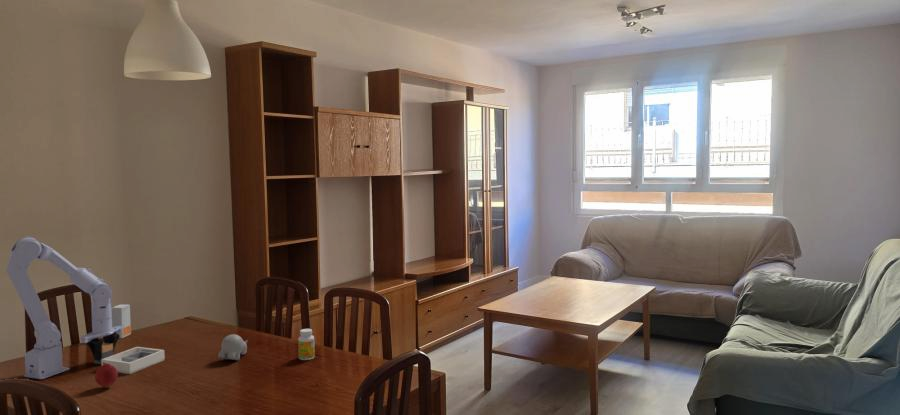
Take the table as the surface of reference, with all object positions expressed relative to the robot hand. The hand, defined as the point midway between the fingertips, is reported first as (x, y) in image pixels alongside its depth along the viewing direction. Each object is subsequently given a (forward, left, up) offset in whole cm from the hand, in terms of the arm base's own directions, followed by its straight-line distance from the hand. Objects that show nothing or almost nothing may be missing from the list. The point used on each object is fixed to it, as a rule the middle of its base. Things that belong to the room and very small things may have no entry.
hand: (103, 357), depth 196 cm
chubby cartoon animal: (+17, -40, -2) cm, 44 cm away
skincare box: (+25, +20, -2) cm, 32 cm away
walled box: (+1, -12, -2) cm, 12 cm away
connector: (0, 0, -1) cm, 1 cm away
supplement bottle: (+25, -63, -2) cm, 68 cm away
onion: (-17, -21, -2) cm, 27 cm away
